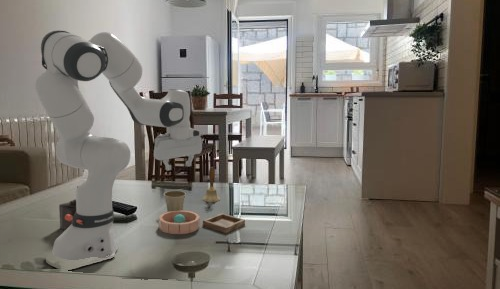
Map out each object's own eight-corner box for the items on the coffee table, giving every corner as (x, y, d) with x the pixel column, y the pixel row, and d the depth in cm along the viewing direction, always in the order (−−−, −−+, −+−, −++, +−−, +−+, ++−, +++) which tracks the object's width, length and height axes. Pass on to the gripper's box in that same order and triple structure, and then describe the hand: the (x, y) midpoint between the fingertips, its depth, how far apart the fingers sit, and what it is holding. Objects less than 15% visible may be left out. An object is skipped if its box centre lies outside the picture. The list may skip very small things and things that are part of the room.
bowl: (179, 237, 154) (179, 227, 154) (150, 227, 163) (150, 217, 163) (207, 226, 167) (207, 216, 166) (179, 217, 176) (179, 207, 175)
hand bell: (219, 202, 197) (220, 169, 194) (201, 201, 197) (202, 168, 194) (220, 197, 205) (221, 165, 202) (203, 196, 205) (204, 164, 203)
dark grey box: (57, 228, 159) (55, 182, 156) (83, 220, 168) (82, 177, 164) (81, 239, 150) (79, 190, 147) (107, 230, 159) (106, 184, 156)
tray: (226, 233, 160) (226, 228, 160) (202, 225, 167) (202, 220, 167) (244, 224, 170) (245, 219, 170) (222, 217, 177) (222, 213, 177)
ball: (179, 228, 162) (179, 217, 161) (171, 225, 165) (171, 214, 164) (187, 225, 166) (187, 214, 165) (179, 222, 168) (179, 211, 167)
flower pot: (164, 217, 175) (164, 197, 173) (162, 210, 184) (162, 191, 182) (187, 216, 177) (187, 196, 176) (184, 208, 186) (184, 190, 185)
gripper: (159, 136, 149) (160, 174, 152) (204, 131, 163) (204, 165, 166) (150, 134, 153) (150, 170, 156) (194, 128, 168) (194, 162, 170)
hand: (178, 168), depth 161 cm, fingers open, 8 cm apart
